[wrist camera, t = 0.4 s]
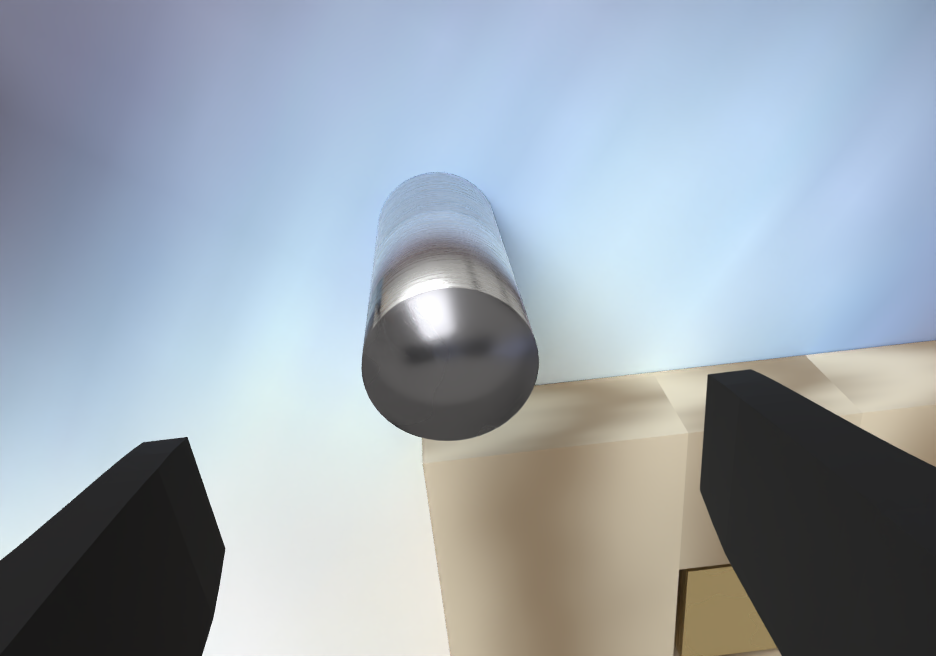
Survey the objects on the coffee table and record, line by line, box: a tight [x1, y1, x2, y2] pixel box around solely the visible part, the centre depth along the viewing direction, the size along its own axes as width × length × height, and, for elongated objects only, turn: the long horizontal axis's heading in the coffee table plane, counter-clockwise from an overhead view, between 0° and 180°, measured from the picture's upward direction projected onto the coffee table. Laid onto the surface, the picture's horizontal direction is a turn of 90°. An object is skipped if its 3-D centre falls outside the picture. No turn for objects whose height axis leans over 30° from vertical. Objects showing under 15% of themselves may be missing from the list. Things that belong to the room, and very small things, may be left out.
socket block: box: [422, 340, 936, 656], centre depth 23 cm, size 18×14×3 cm
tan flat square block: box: [674, 564, 777, 656], centre depth 22 cm, size 4×4×1 cm
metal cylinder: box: [362, 172, 539, 441], centre depth 15 cm, size 3×3×7 cm
